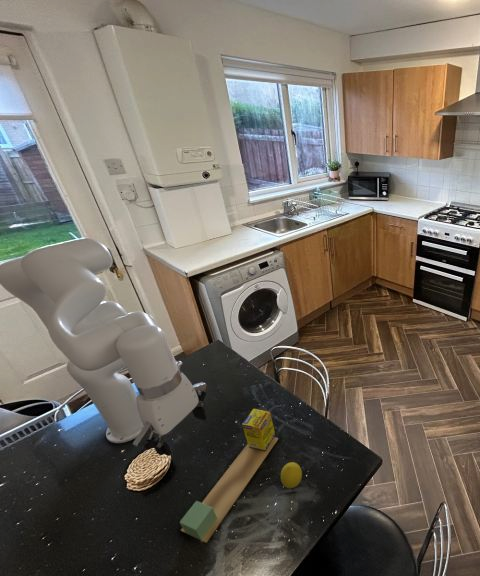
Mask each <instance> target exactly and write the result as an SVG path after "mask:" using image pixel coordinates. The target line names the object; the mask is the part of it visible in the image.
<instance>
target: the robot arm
mask: <svg viewBox="0 0 480 576" xmlns="http://www.w3.org/2000/svg"><path fill="white" fill-rule="evenodd" d="M113 261H114V260H113V256H112V254H111V252H110V251H109V249H108V248H107V247H106V245H104V244H103V243H102V242H101V241H100V240H97V239H95V238H91V237H80V238H75V239H70V240H67V241H62V242H58V243H53V244H49V245H45V246H41V247H38V248H35V249H33V250H31V251H29V252H27V253H26V254H25V255H24V256H20V257H17V258H13V259H11V260H8V261H5V262H3V263H1V264H0V286H1V287H2V288H3V289H4V290H5V291H6V292H8V293H9V294H11V295H12V296H14V297H15V298H17V299H18V300H20V301H22V302H23V303H24V304H26V305H28V306H29V307H30V308H31V309H32V310H33V311H34V312H35V313H36V315H37V317H38V318H39V320H40V321H41V322H42V324H43V325H44V326H45V328H46V329H47V332H48V334H49V337H50V339H51V341H52V342H53V344H54V346H56V348H57V349H58V350H59V351H60V352H61V353H62V354H63V355H64V356H65V357H66V358H67V359H68V362H67V364H66V371H67V373H68V374H69V375H70V377H71V378H72V379H73V380H74V381H75V382H76V383H77V384H78V385H79V386H80V387H81V388H82V389H83V390H84V392H85V393H86V395H87V397H88V398H89V399H90V400H91V402H92V404H93V405H94V407H95V408H96V410H97V412H98V413H99V415H100V416H101V418H102V419H103V421H104V423H105V424H106V426H107V429H106V431H105V437H106V439H107V441H108V442H110V443H112V444H123V443H127V442H131V441H132V440H133V442H132V445H133V446H134V447H137V448H142V449H146V450H150V449H154V450H155V452H156V454H157V455H159V456H164V455H165V456H167V457H170V456H171V455H172V450H171V448H170V446H169V445H168V442H167V441H165V439H166V436H167V434H168V433H170V432H171V431H172V430H173V429H174V428H175V427H177V425H178V424H180V423H181V422H182V421H183V420H184V419H185V418H186V417H187V416H188V415H189V414H190V413H191V412H192V414H193V417H194V418H196V419H199V420H201V421H206V419H207V418H208V417H207V415H206V410H205V407H204V406H205V404H206V403H205V398H206V396H207V392H206V391H207V385H208V384H207V383H206V382H203V381H200V382H198V383H195V384H192V382H191V381H190V379H188V377H187V376H186V375H185V374H184V373H183V372H182V371H181V367H182V366H184V363H183V361H181V360H178V361H177V360H176V358H175V356H174V354H173V351H172V349H171V346H170V343H169V341H168V339H167V336H166V333H165V331H164V330H163V329H162V328H160V327H159V326H158V324H157V323H156V322H157V321H156V320H155V319H154V317H153V316H152V315H151V314H149V313H146V312H145V311H141V310H135V311H132V312H129V313H128V312H127V311H126V310H125V308H124V307H123V306H122V305H120V304H119V303H118V302H116V301H114V300H105V297H106V296H107V286H106V284H105V283H104V282H103V281H102V280H101V279H99V277H97V276H96V274H100V273H102V272H105V271H108V270H109V269H111V268H112V266H113V263H114V262H113ZM125 368H126V370H127V372H128V374H129V376H130V379H131V380H132V382H133V383H134V386H135V388H136V390H137V391H136V390H135V388H134V386H133V384H132V382H131V381H130V379H129V378H128V377H127V376H126V375H124V374H121V373H118V372H121V370H124V369H125ZM137 392H138V394H137ZM157 436H158V437H157ZM148 437H149V438H148Z"/></svg>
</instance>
